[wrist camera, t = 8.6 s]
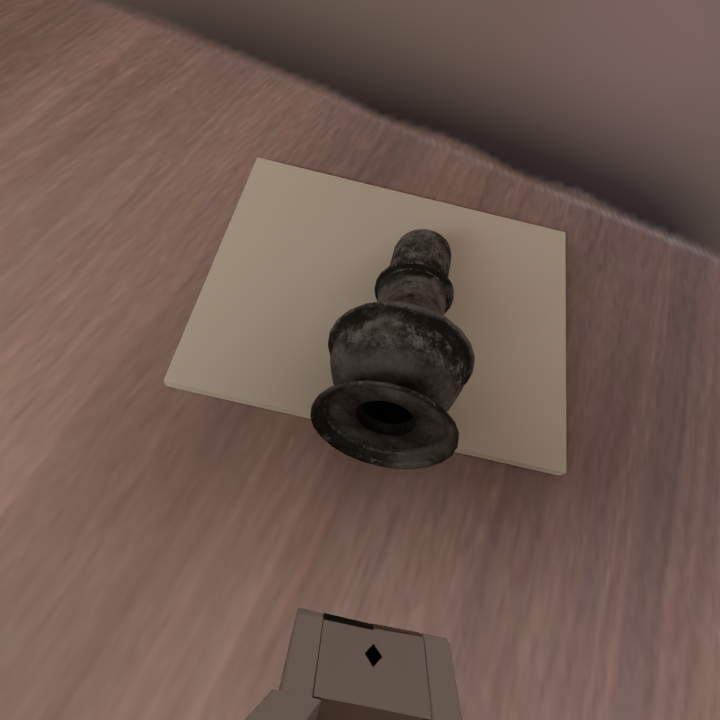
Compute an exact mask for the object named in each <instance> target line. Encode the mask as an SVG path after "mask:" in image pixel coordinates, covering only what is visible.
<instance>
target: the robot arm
mask: <svg viewBox="0 0 720 720" xmlns="http://www.w3.org/2000/svg"><path fill="white" fill-rule="evenodd" d="M245 720H462V717H461V711H460V705H459V698H458V692H457V686H456V680H455V674H454V668H453V662H452V655H451V649H450V644H449V642H448V640H447V638H442V637H437V636H432V635H427V634H420V633H419V632H413V631H408V630H403V629H398V628H393V627H387V626H382V625H377V624H368V623H364V622H360V621H356V620H351V619H347V618H343V617H339V616H334V615H330V614H326V613H324V614H323V613H320V612H315V611H311V610H307V609H302V608H298V610H297V613H296V617H295V621H294V626H293V630H292V634H291V638H290V643H289V647H288V651H287V655H286V660H285V664H284V668H283V673H282V677H281V682H280V686H279V691H277V690H272V691H271V692H270V693H269V694H268V695H267V696H266V697H265V698H264V699H263V701H262V702H261V703H260V704H259V705H258V706H257V707H256V708H255V709H254V710H253V711H252V712H251V713H250V714H249V716H248V717H247V718H246V719H245Z"/></svg>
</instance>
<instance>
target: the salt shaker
mask: <svg viewBox="0 0 720 720" xmlns="http://www.w3.org/2000/svg"><path fill="white" fill-rule="evenodd" d="M450 264H451V250H450V246H449V244H448V242H447V240H446V239H445V238H444V237H443V236H442V235H441V234H439V233H437V232H435V231H432V230H428V229H418V230H413V231H410V232H408V233H406V234H405V235H404V236H402V237H401V238H400V240H399V241H398V243H397V244H396V246H395V249H394V252H393V255H392V259H391V262H390V266H388V267H387V268H386V269H385V270H383V271H382V272H381V273H380V275H379V276H378V278H377V280H376V284H375V287H374V290H375V297H376V299H377V302H373V303H366V304H363V305H360V306H358V307H355V308H353V309H350V310H348V311H347V312H346V313H345V314H343V315H342V316H341V317H339V318H338V319H337V320H336V322H335V324H334V325H333V327H332V329H331V330H330V333H329V339H328V349H329V353H330V357H331V358H330V367H331V374H332V380H333V384H334V386H331V387H329V388H328V389H326V390H324V391H323V392H321V393H320V394H319V395H318V396H317V398H316V399H315V400H314V402H313V403H312V407H311V414H310V417H311V420H312V423H313V426H314V428H315V429H316V431H317V432H318V433H319V435H320V436H321V437H322V438H323V439H324V440H325V441H327V442H328V443H329V444H330V445H331V446H332V447H334V448H336V449H338V450H339V451H341V452H343V453H344V454H346V455H348V456H351V457H353V458H355V459H358V460H360V461H363V462H366V463H370V464H373V465H377V466H382V467H389V468H395V469H416V468H424V467H429V466H432V465H435V464H439V463H441V462H443V461H444V460H446V459H447V458H449V457H450V456H452V454H453V453H454V451H455V450H456V449H457V447H458V439H459V431H458V429H457V426H456V423H455V421H454V420H453V419H452V417H451V416H450V415H449V414H448V413H447V411H449V409H450V408H451V406H452V405H453V403H454V402H455V400H456V399H457V397H458V396H459V394H460V392H461V391H462V389H463V386H464V385H465V384H467V382H468V380H469V379H470V377H471V375H472V373H473V369H474V362H475V356H474V352H473V349H472V345H471V343H470V341H469V340H468V338H467V337H466V335H465V334H464V333H463V331H462V330H461V329H460V328H459V327H458V326H456V325H455V324H454V323H453V322H451V321H450V320H449V319H448V318H447V317H445V316H444V314H445V313H446V312H447V311H448V310H449V309H450V307H451V305H452V303H453V300H454V289H453V285H452V283H451V281H450V280H449V278H448V277H449V270H450Z"/></svg>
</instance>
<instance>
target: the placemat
mask: <svg viewBox="0 0 720 720" xmlns="http://www.w3.org/2000/svg"><path fill="white" fill-rule="evenodd" d="M418 229H428V230H432V231H435V232H437V233H439V234H441V235H442V236H443V237H444V238H445V239H446V240H447V242H448V244H449V246H450V250H451V264H450V270H449V277H448V278H449V280H450V281H451V283H452V285H453V289H454V300H453V303H452V305H451V307H450V309H449V310H448V311H447V312H446V313H445V314H444V316H445V317H447V318H448V319H449V320H450V321H451V322H453V323H454V324H455V325H456V326H458V327H459V328H460V329H461V330H462V331H463V333H464V334H465V335H466V337H467V338H468V340H469V341H470V343H471V345H472V349H473V352H474V356H475V362H474V369H473V373H472V375H471V377H470V379H469V380H468V382H467V384H465V385H464V386H463V389H462V391H461V392H460V394H459V396H458V397H457V399H456V400H455V402H454V403H453V405H452V406H451V408H450V409H449V411H447V413H448V414H449V415H450V416H451V417H452V419H453V420H454V421H455V423H456V426H457V429H458V431H459V439H458V447H457V449H456V450H455V451H454V452H457V453H461V454H466V455H470V456H475V457H479V458H483V459H488V460H492V461H496V462H501V463H505V464H510V465H514V466H518V467H523V468H527V469H532V470H536V471H540V472H545V473H549V474H553V475H558V476H560V475H563V474H565V473H566V257H565V232H562V231H558V230H554V229H550V228H545V227H541V226H537V225H533V224H529V223H525V222H521V221H517V220H513V219H509V218H504V217H500V216H496V215H492V214H488V213H484V212H480V211H476V210H472V209H467V208H463V207H459V206H455V205H451V204H447V203H443V202H439V201H435V200H431V199H426V198H422V197H418V196H414V195H410V194H406V193H402V192H398V191H394V190H389V189H385V188H381V187H377V186H373V185H369V184H365V183H361V182H357V181H353V180H348V179H344V178H340V177H336V176H332V175H328V174H324V173H320V172H316V171H311V170H307V169H303V168H299V167H295V166H291V165H287V164H283V163H279V162H275V161H270V160H266V159H262V158H258V157H257V159H256V162H255V164H254V166H253V169H252V171H251V174H250V176H249V178H248V181H247V183H246V186H245V188H244V190H243V193H242V195H241V197H240V200H239V202H238V205H237V207H236V209H235V212H234V214H233V216H232V219H231V221H230V224H229V226H228V228H227V231H226V233H225V235H224V238H223V240H222V243H221V245H220V247H219V250H218V252H217V255H216V257H215V259H214V262H213V264H212V266H211V269H210V271H209V274H208V276H207V278H206V281H205V283H204V285H203V288H202V290H201V293H200V295H199V297H198V300H197V302H196V304H195V307H194V309H193V312H192V314H191V316H190V319H189V321H188V324H187V326H186V328H185V331H184V333H183V335H182V338H181V340H180V343H179V345H178V347H177V350H176V352H175V354H174V357H173V359H172V362H171V364H170V366H169V369H168V371H167V373H166V376H165V378H164V383H165V384H166V386H168V387H172V388H176V389H181V390H185V391H189V392H194V393H198V394H203V395H207V396H211V397H216V398H220V399H225V400H229V401H233V402H238V403H242V404H247V405H251V406H255V407H260V408H264V409H268V410H273V411H277V412H282V413H286V414H290V415H295V416H299V417H304V418H308V419H311V417H310V414H311V407H312V403H313V402H314V400H315V399H316V398H317V396H318V395H319V394H320V393H321V392H323V391H324V390H326V389H328V388H329V387H331V386H334V384H333V380H332V374H331V367H330V358H331V357H330V353H329V349H328V339H329V333H330V330H331V329H332V327H333V325H334V324H335V322H336V320H337V319H338V318H339V317H341V316H342V315H343V314H345V313H346V312H347V311H348V310H350V309H353V308H355V307H358V306H360V305H363V304H366V303H373V302H377V299H376V297H375V290H374V287H375V284H376V280H377V278H378V276H379V275H380V273H381V272H382V271H383V270H385V269H386V268H387V267H388V266H390V262H391V259H392V255H393V252H394V249H395V246H396V244H397V243H398V241H399V240H400V238H401V237H402V236H404V235H405V234H406V233H408V232H410V231H413V230H418Z"/></svg>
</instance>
